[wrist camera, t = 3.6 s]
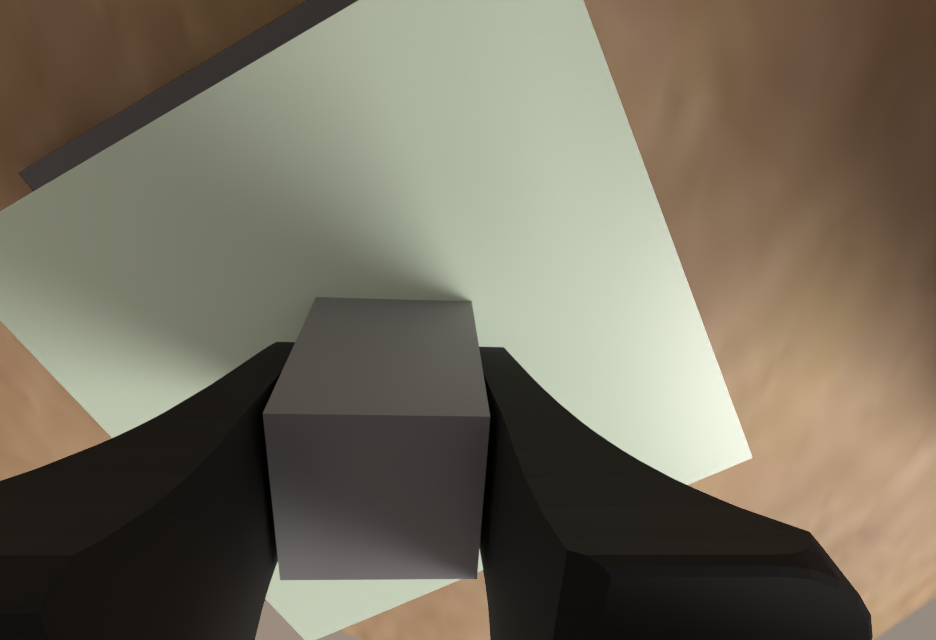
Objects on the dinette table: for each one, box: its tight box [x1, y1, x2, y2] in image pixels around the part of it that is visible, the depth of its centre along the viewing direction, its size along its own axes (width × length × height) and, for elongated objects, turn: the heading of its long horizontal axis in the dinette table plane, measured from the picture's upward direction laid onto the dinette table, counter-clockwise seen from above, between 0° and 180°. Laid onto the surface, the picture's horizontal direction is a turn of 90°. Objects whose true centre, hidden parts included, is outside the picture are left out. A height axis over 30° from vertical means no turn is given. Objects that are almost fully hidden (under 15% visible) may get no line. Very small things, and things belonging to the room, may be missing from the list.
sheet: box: [0, 0, 753, 640], centre depth 11 cm, size 12×12×5 cm
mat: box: [19, 0, 358, 191], centre depth 17 cm, size 14×14×1 cm
